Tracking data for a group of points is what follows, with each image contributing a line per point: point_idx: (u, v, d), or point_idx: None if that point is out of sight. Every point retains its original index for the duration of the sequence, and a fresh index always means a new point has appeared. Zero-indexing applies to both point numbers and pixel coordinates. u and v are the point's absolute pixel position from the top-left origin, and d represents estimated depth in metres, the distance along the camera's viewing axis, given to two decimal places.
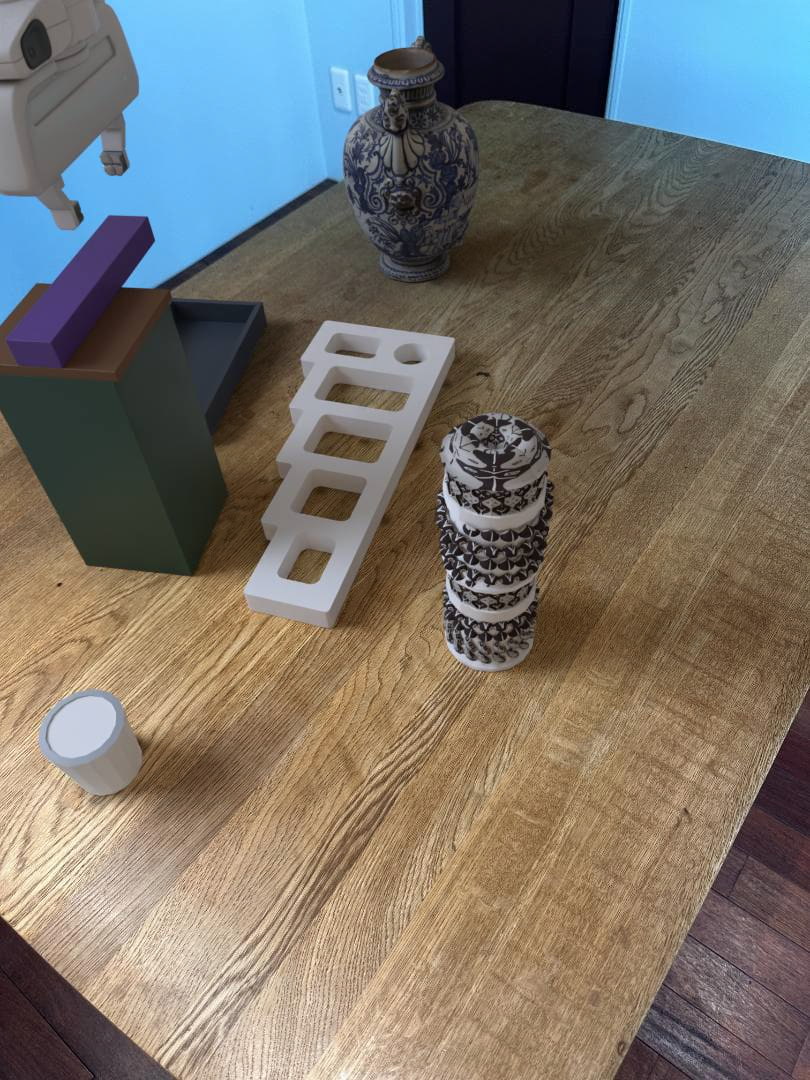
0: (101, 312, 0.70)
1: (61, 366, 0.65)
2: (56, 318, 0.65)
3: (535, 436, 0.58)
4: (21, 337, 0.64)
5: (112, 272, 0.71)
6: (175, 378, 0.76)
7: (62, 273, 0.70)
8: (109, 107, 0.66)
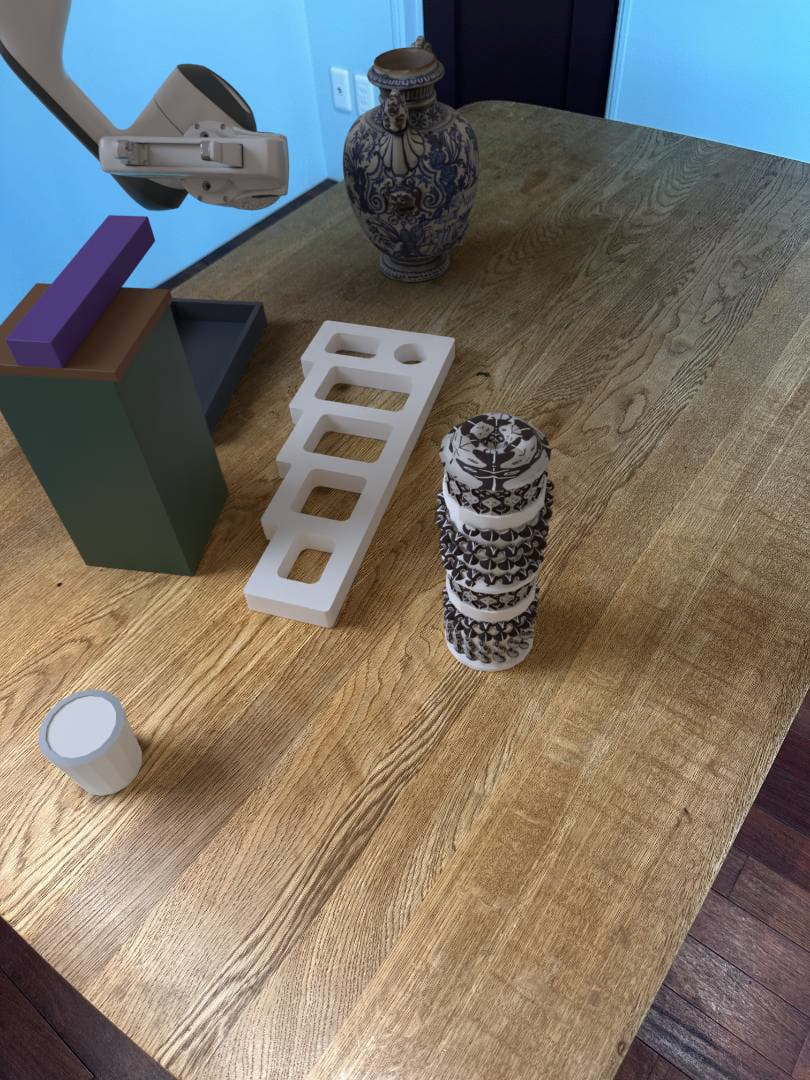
0: (101, 312, 0.70)
1: (61, 366, 0.65)
2: (56, 318, 0.65)
3: (535, 436, 0.58)
4: (21, 337, 0.64)
5: (112, 272, 0.71)
6: (175, 378, 0.76)
7: (62, 273, 0.70)
8: (159, 174, 0.88)
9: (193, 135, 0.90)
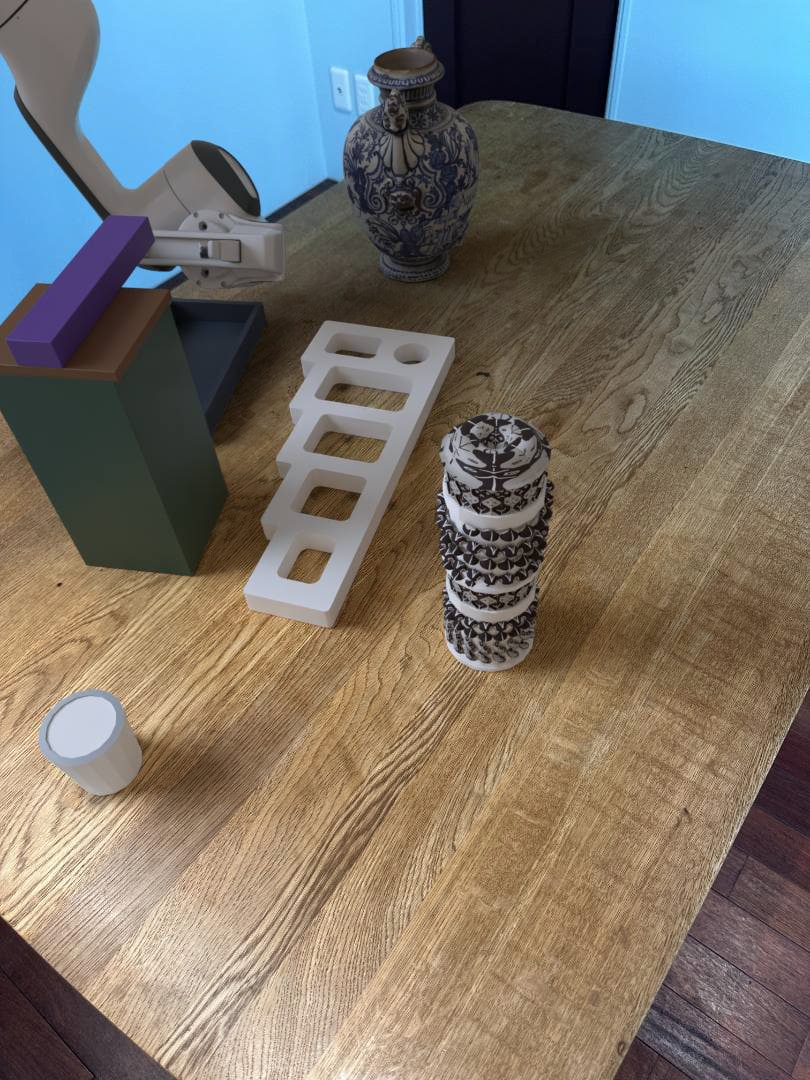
0: (101, 312, 0.70)
1: (61, 366, 0.65)
2: (56, 318, 0.65)
3: (535, 436, 0.58)
4: (21, 337, 0.64)
5: (112, 272, 0.71)
6: (175, 378, 0.76)
7: (62, 273, 0.70)
8: None
9: (192, 224, 0.92)
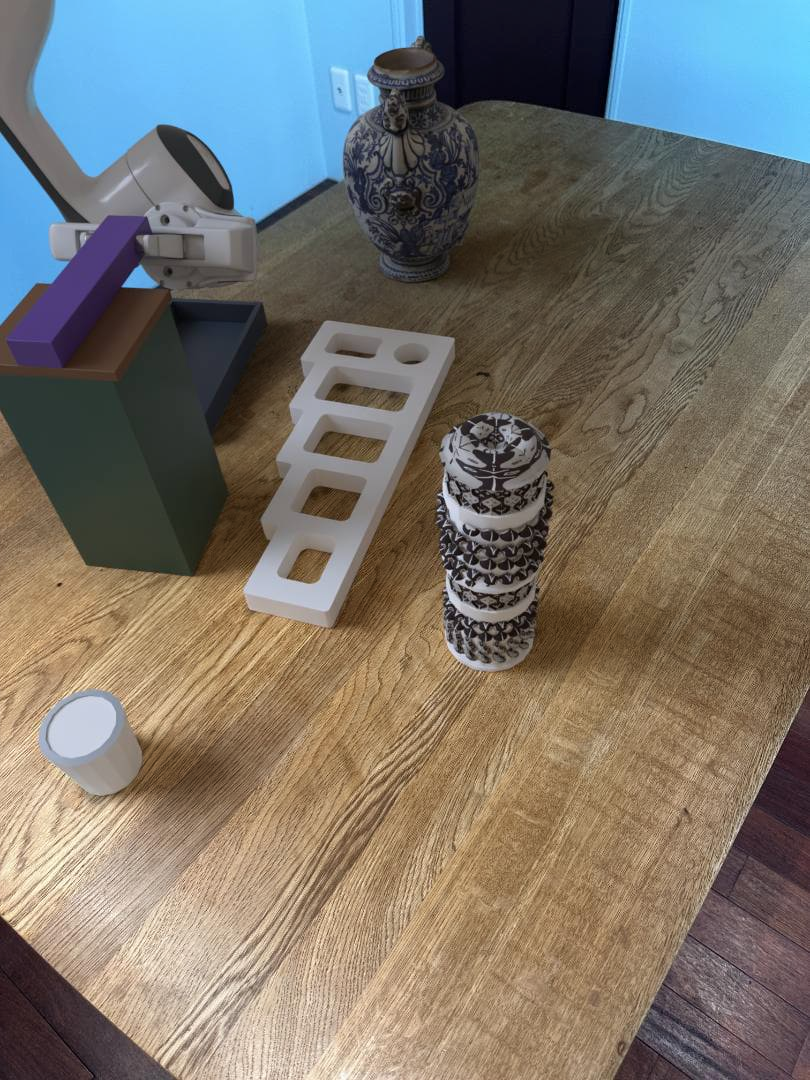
0: (101, 312, 0.70)
1: (61, 366, 0.65)
2: (56, 318, 0.65)
3: (535, 436, 0.58)
4: (21, 337, 0.64)
5: (111, 272, 0.71)
6: (175, 378, 0.76)
7: (62, 273, 0.70)
8: None
9: (153, 218, 0.83)
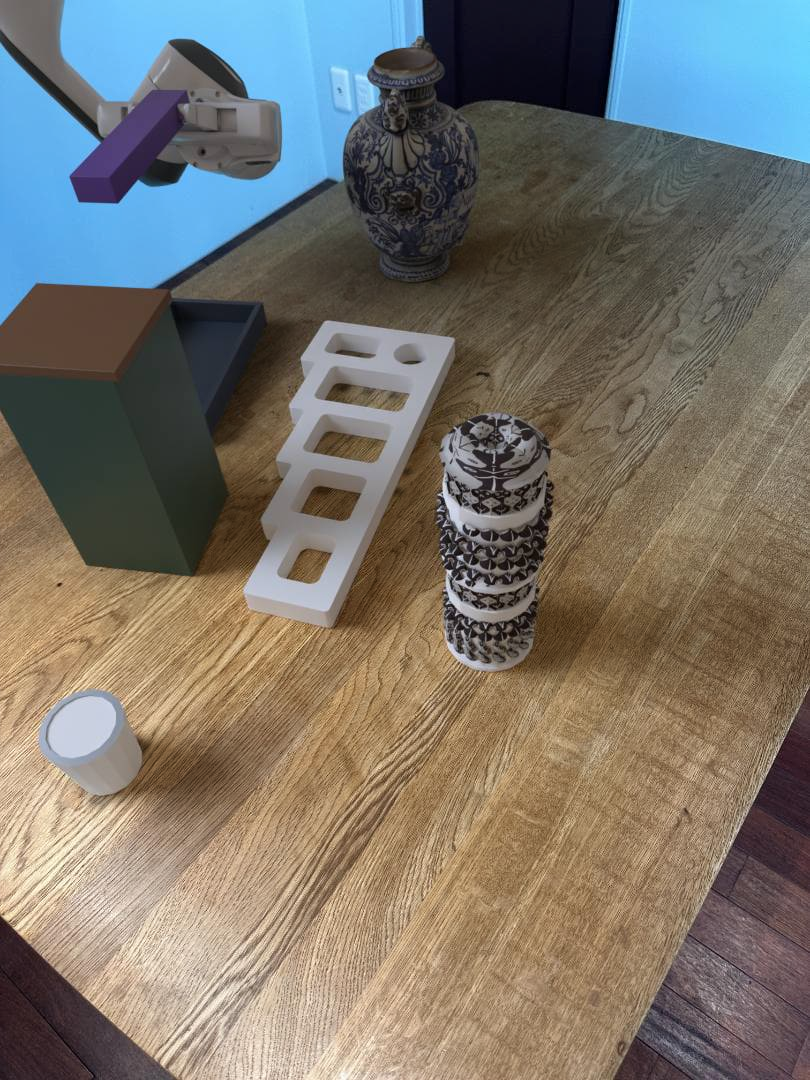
0: (148, 164, 0.79)
1: (117, 201, 0.74)
2: (112, 160, 0.75)
3: (535, 436, 0.58)
4: (83, 174, 0.73)
5: (157, 131, 0.80)
6: (175, 378, 0.76)
7: (114, 130, 0.79)
8: None
9: None
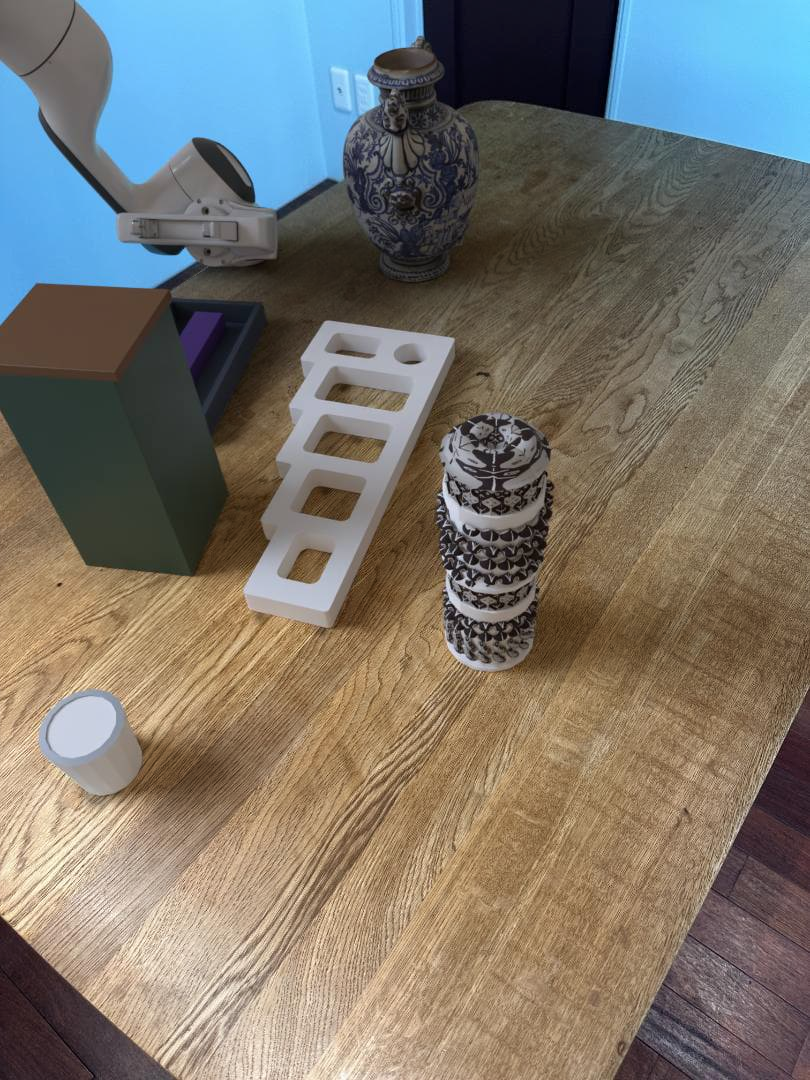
0: (194, 382, 1.04)
1: None
2: None
3: (535, 436, 0.58)
4: None
5: (201, 355, 1.05)
6: (175, 378, 0.76)
7: None
8: None
9: (196, 209, 1.06)
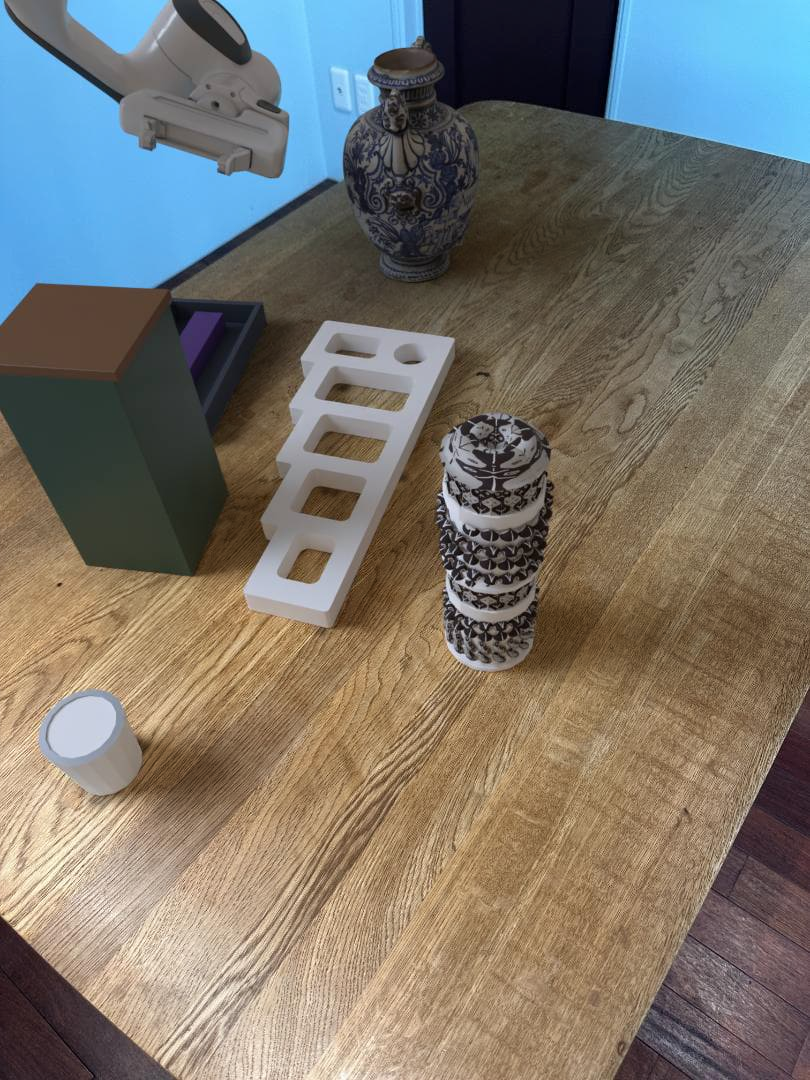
0: (194, 382, 1.04)
1: None
2: None
3: (535, 436, 0.58)
4: None
5: (201, 355, 1.05)
6: (175, 378, 0.76)
7: None
8: None
9: (205, 101, 1.00)
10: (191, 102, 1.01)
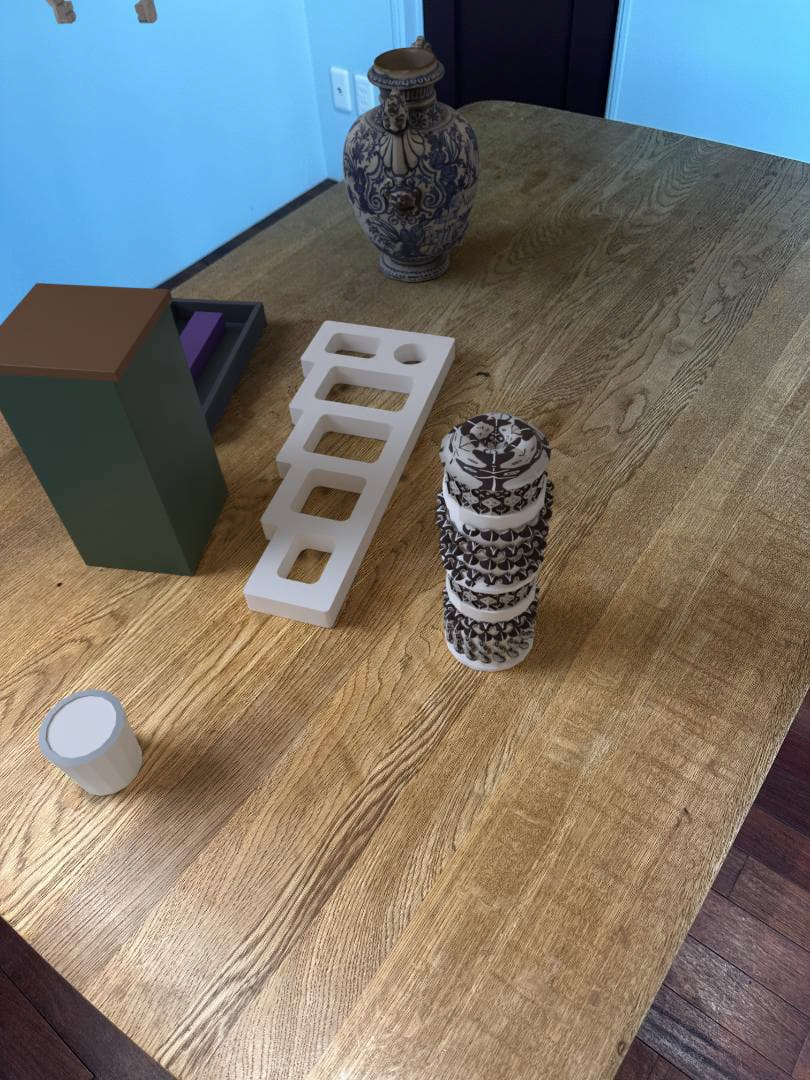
0: (194, 382, 1.04)
1: None
2: None
3: (535, 436, 0.58)
4: None
5: (201, 355, 1.05)
6: (175, 378, 0.76)
7: None
8: None
9: None
10: None
